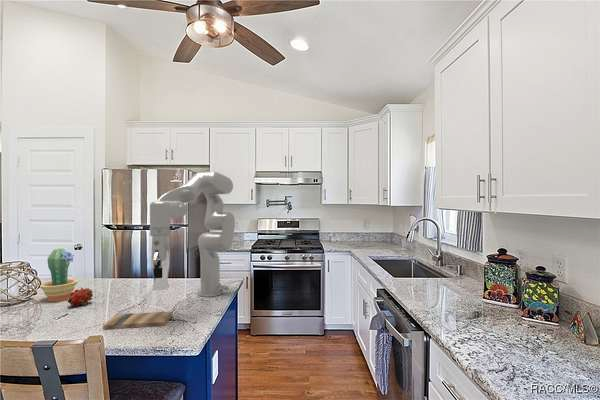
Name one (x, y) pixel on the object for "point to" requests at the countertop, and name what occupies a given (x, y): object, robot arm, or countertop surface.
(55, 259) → the potted cactus
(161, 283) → the beer glass
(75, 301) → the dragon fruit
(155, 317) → the oak board
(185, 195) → the robot arm
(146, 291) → the countertop surface
